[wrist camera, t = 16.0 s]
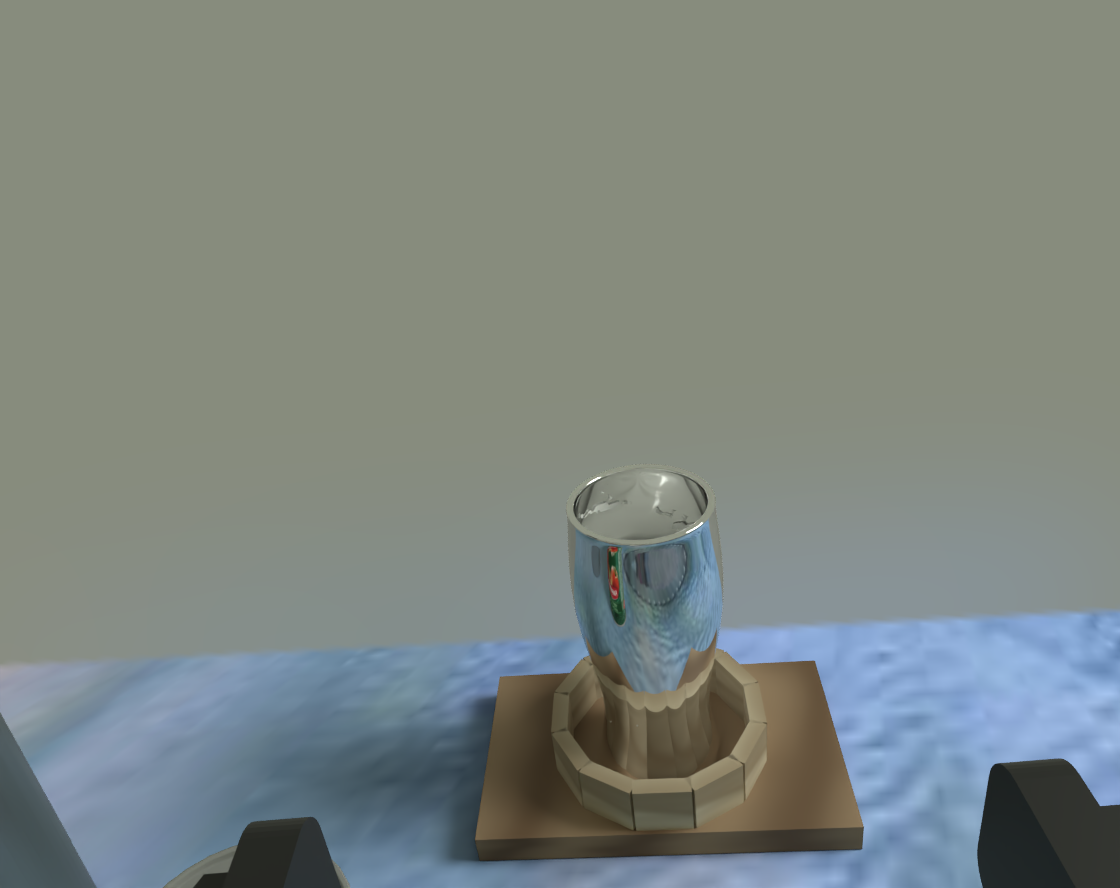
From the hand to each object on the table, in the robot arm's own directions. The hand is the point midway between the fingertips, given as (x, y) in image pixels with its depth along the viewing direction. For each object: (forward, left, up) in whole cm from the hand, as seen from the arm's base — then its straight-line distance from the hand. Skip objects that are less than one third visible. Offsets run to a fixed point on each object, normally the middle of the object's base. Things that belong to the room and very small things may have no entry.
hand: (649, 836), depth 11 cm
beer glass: (-12, +23, -27) cm, 37 cm away
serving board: (-12, +23, -28) cm, 38 cm away
